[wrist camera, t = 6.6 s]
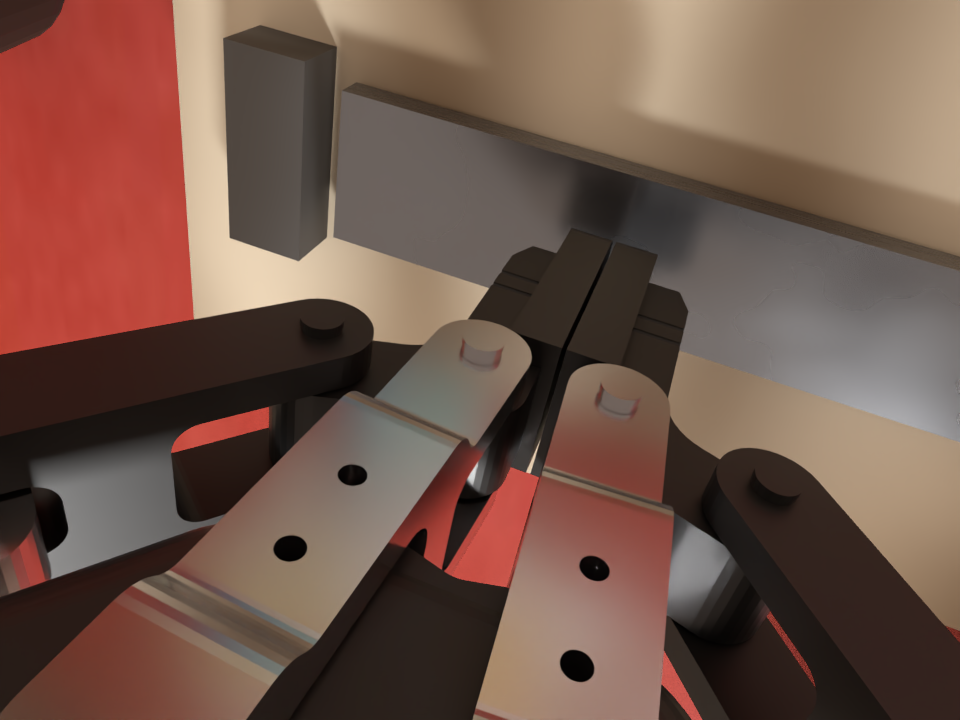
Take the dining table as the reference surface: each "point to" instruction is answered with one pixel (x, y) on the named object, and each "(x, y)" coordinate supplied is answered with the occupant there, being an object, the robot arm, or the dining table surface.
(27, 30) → the coffee mug
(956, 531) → the tea crate
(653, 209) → the strap
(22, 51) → the dining table surface
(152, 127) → the dining table surface
